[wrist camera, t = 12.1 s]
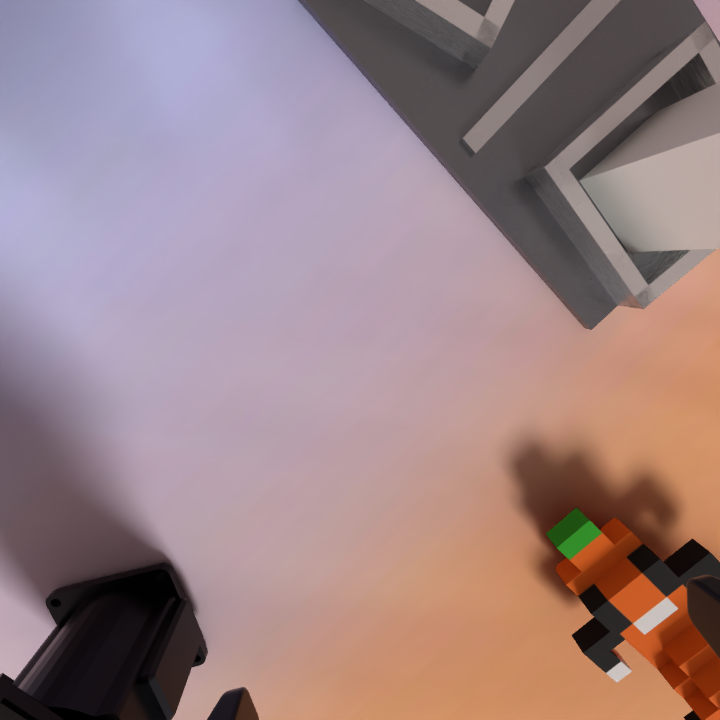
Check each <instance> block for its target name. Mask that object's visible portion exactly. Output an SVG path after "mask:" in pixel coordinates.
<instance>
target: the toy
mask: <svg viewBox="0 0 720 720" xmlns="http://www.w3.org/2000/svg"><path fill="white" fill-rule="evenodd" d="M546 535H547V536H548V538H549V539H550V540H551V541H552V543H553V544H554V545H555V547H556V548H557V549H558V550H559V551H560V552H561V553H562V554H563V555H565V556H566V558H565V559H564V560H562V561H561V562H560V563H559V564H558V565H556V567H557V568H556V569H555V571H556V572H557V573H558V575H559V576H560V577H561V579H562V580H563V582H564V583H565V584H566V586H568V587H569V588H570V589H571V590H572V591H573V592H574V593H575V594H576V595H577V596H578V597H579V598H580V599H581V601H582V602H583V603H584V605H585V606H586V608H587V609H588V610H589V612H590V613H591V614H592V615H593V616H594V618H593V619H591V620H590V621H589V622H588V623H586V624H585V625H584V626H583V627H581V628H580V629H579V630H578V631H576V632H575V633H574V634H573V635H572V636H573V638H574V640H575V641H576V643H577V644H578V646H579V647H580V649H581V651H582V652H583V653H584V654H585V655H586V656H587V657H588V658H589V659H590V660H592V661H593V662H594V663H595V664H596V665H597V666H598V667H600V668H601V669H602V670H603V671H604V672H605V673H607V674H608V675H609V676H610V677H611V678H612V679H613V680H615V681H616V682H618V681H620V680H621V679H622V678H624V677H625V676H626V675H628V674H629V673H630V672H631V669H630V668H629V666H628V665H627V664H626V662H625V661H624V660H623V658H622V657H621V655H620V654H619V653H618V652H617V651H616V650H615V649H614V648H615V647H616V646H617V645H619V644H620V643H621V642H622V641H624V640H626V641H627V642H629V643H630V644H631V645H632V646H633V647H634V648H635V649H636V650H637V651H638V652H639V653H641V654H642V655H643V656H644V657H645V658H646V659H647V660H648V661H649V662H650V663H651V664H653V665H654V666H655V667H656V668H657V669H658V670H659V671H660V673H661V674H662V675H663V676H664V678H665V679H666V680H667V681H668V683H669V684H670V685H671V687H672V688H673V689H674V690H675V691H676V692H677V693H678V694H679V695H681V696H682V697H683V698H684V699H685V700H686V702H687V703H688V704H689V705H690V707H691V708H692V709H693V711H691V712H690V713H689V714H687V715H686V716H685V717H684V718H685V720H720V659H719V657H718V656H717V655H716V653H715V652H714V651H713V650H712V648H711V647H710V646H709V644H708V643H707V642H706V640H705V639H704V638H703V636H702V635H701V634H700V632H699V631H698V630H697V628H696V627H695V626H694V624H693V623H692V621H691V619H690V617H689V614H688V610H687V581H688V580H689V579H691V578H694V577H699V576H703V575H711V576H714V577H717V578H719V579H720V562H719V561H718V560H717V559H716V558H715V557H714V556H713V555H712V554H711V552H709V551H708V550H707V549H705V548H704V547H703V546H701V545H700V544H699V543H697V542H696V541H695V540H694V539H691V540H690V541H689V542H687V543H686V544H685V545H684V546H683V547H681V548H680V549H679V550H678V551H676V552H675V553H674V554H673V555H671V556H670V557H669V558H668V559H666V560H665V561H664V562H663V561H662V560H661V559H660V558H659V557H657V556H656V555H655V554H654V553H653V552H652V551H651V550H650V549H649V548H648V547H646V546H645V545H644V544H643V543H642V542H641V541H640V540H639V539H638V538H637V537H636V536H635V535H634V534H633V533H632V532H631V531H630V530H629V529H628V528H627V527H626V526H625V525H624V524H623V523H621V522H620V521H619V520H618V519H617V518H616V519H615V518H613V519H612V520H610V521H609V522H608V523H607V524H606V525H604V526H603V527H602V528H601V529H600V530H599V529H598V528H597V527H596V526H595V525H594V524H593V523H592V522H591V521H590V520H589V519H588V518H587V517H586V516H585V515H584V514H583V513H582V512H581V511H580V510H579V509H578V508H577V507H576V508H575V509H574V510H573V511H572V512H570V513H569V514H568V515H567V516H566V517H565V518H563V519H562V520H561V521H560V522H559V523H558V524H556V525H555V526H554V527H553V528H552V529H551V530H549V531H548V532H547V533H546Z"/></svg>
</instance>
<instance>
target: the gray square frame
mask: <svg viewBox="0 0 720 720" xmlns="http://www.w3.org/2000/svg"><path fill="white" fill-rule="evenodd" d="M364 1H365V2H367V3H369V4H370V5H372V6H373V7H375V8H377V9H378V10H380V11H382V12H383V13H385V14H386V15H388V16H390V17H391V18H393V19H394V20H396V21H398V22H399V23H401V24H403V25H404V26H406V27H407V28H409V29H411V30H412V31H414V32H415V33H417V34H419V35H420V36H422V37H424V38H425V39H427V40H428V41H430V42H432V43H433V44H435V45H437V46H438V47H440V48H441V49H443V50H445V51H446V52H448V53H449V54H451V55H453V56H454V57H456V58H458V59H459V60H461V61H462V62H464V63H466V64H467V65H469V66H470V67H472V68H474V69H475V70H476V69H477V67H478V66H479V65H480V63H481V62H482V61H483V59H484V58H485V56H486V55H487V54H488V52H489V51H490V50H491V48H492V46H493V44H494V42H495V40H496V38H497V36H498V34H499V31H500V29H501V27H502V25H503V23H504V21H505V19H506V17H507V15H508V13H509V11H510V9H511V7H512V5H513V3H514V0H489V2H488V4H487V6H486V8H485V10H484V12H483V14H482V15H480V14H479V13H477V12H475V11H474V10H472V9H471V8H469V7H468V6H466V5H465V4H463V3H461V2H460V1H458V0H364Z"/></svg>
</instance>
